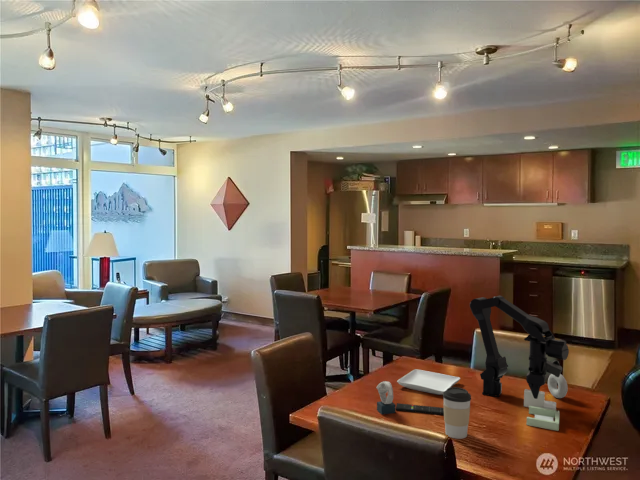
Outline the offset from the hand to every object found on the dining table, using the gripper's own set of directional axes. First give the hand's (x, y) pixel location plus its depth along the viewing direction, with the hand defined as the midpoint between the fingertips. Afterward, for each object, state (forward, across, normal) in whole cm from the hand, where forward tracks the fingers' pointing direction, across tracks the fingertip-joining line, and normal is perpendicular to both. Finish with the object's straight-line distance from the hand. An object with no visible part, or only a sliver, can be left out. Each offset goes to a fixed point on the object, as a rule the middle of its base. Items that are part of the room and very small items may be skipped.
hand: (536, 394), depth 186 cm
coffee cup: (+5, -38, +22) cm, 44 cm away
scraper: (+5, 0, -1) cm, 5 cm away
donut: (+5, +15, -7) cm, 17 cm away
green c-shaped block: (+5, -13, -3) cm, 14 cm away
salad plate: (+5, +4, +42) cm, 43 cm away
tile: (+5, -13, -3) cm, 15 cm away
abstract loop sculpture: (+5, -31, +49) cm, 58 cm away
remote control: (+6, -23, +35) cm, 42 cm away
